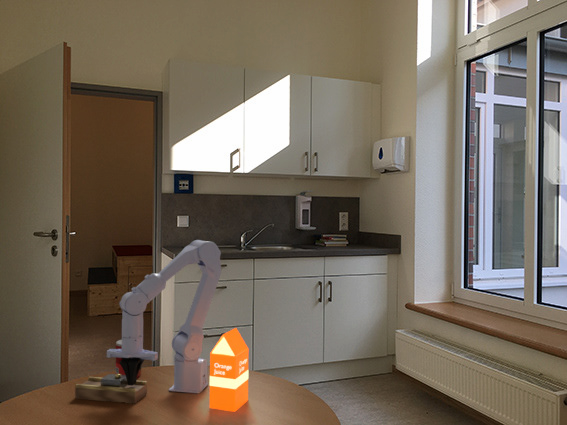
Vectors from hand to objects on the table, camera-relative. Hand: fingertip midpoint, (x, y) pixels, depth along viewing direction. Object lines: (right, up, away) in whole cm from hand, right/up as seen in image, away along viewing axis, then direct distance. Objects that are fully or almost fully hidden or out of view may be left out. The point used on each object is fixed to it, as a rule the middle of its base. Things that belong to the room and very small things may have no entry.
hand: (131, 384), depth 138 cm
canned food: (-7, -4, +19) cm, 20 cm away
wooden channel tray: (-6, -4, +1) cm, 7 cm away
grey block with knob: (-5, -1, +1) cm, 5 cm away
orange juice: (+28, -4, -3) cm, 28 cm away
